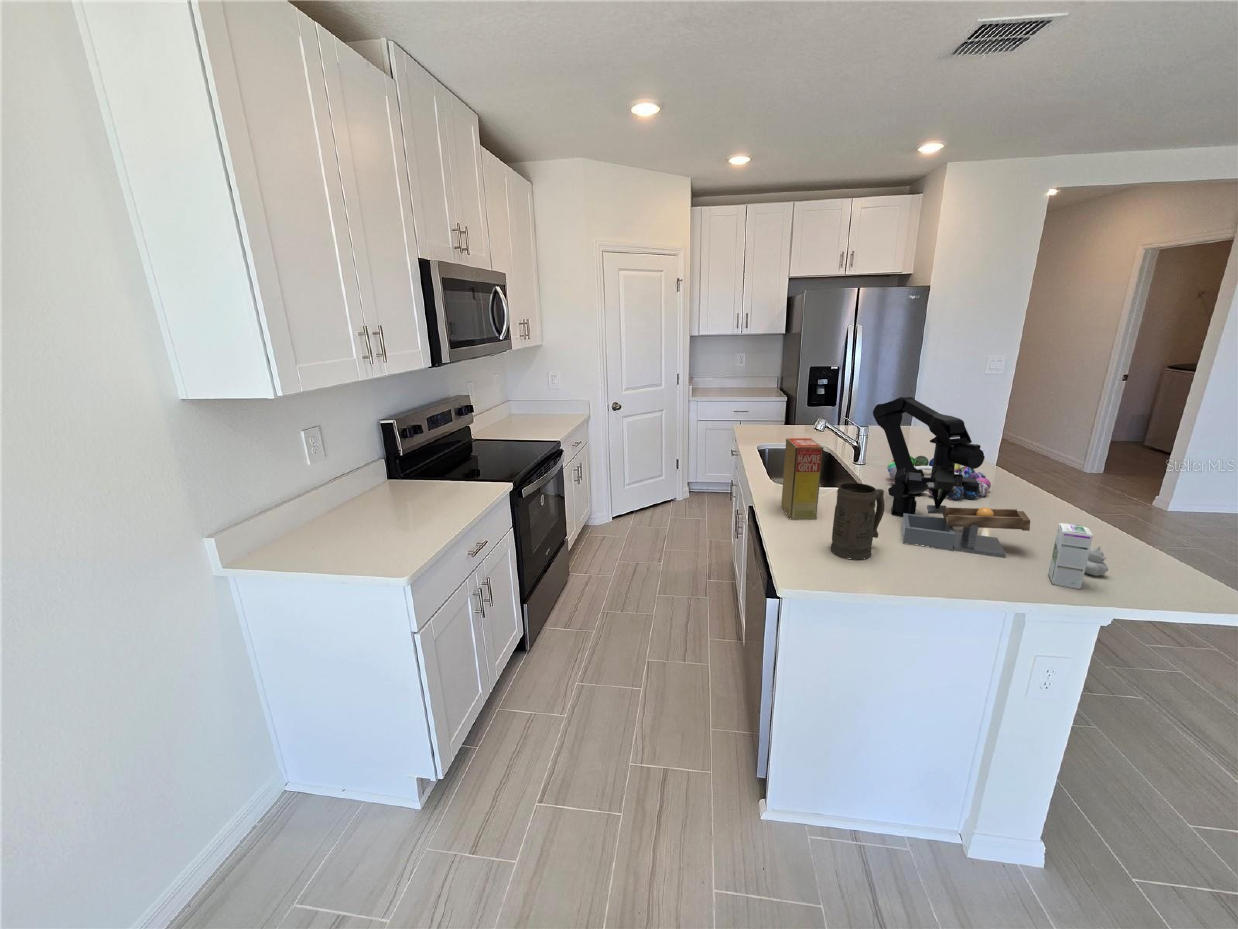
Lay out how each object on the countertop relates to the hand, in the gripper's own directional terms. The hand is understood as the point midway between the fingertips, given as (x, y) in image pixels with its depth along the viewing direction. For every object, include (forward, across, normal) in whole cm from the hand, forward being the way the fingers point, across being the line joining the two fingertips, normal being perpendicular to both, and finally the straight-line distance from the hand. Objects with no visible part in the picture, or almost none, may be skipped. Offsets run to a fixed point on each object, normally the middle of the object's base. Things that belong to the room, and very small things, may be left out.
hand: (936, 507), depth 157 cm
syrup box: (+7, +26, -26) cm, 37 cm away
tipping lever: (0, +9, -6) cm, 11 cm away
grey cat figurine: (+7, +33, -18) cm, 38 cm away
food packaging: (+7, -40, -2) cm, 41 cm away
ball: (-3, +10, -10) cm, 15 cm away
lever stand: (+7, +10, -10) cm, 15 cm away
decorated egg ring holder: (+7, +4, +45) cm, 46 cm away
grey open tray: (+7, -3, -10) cm, 12 cm away
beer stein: (+7, -21, -26) cm, 34 cm away
